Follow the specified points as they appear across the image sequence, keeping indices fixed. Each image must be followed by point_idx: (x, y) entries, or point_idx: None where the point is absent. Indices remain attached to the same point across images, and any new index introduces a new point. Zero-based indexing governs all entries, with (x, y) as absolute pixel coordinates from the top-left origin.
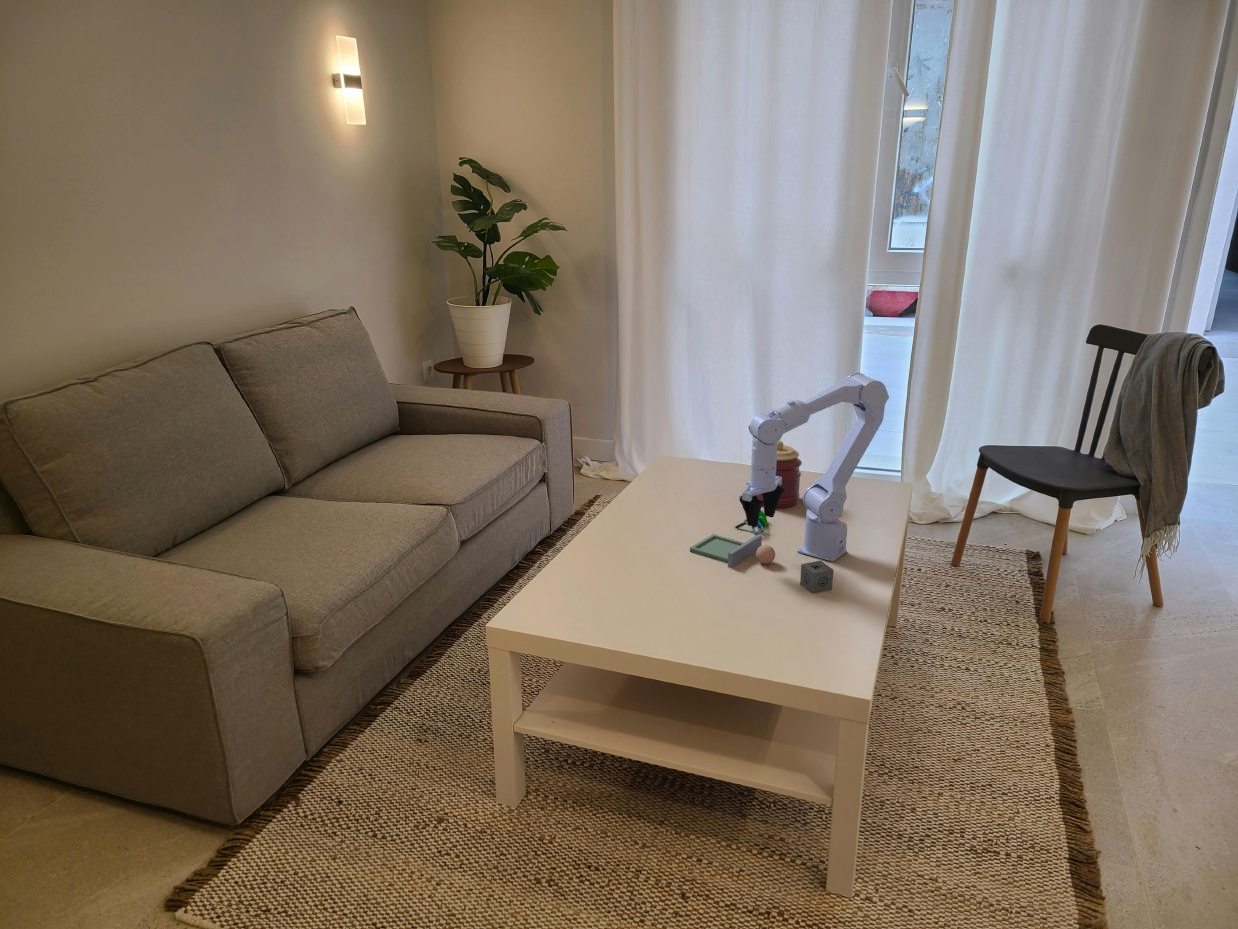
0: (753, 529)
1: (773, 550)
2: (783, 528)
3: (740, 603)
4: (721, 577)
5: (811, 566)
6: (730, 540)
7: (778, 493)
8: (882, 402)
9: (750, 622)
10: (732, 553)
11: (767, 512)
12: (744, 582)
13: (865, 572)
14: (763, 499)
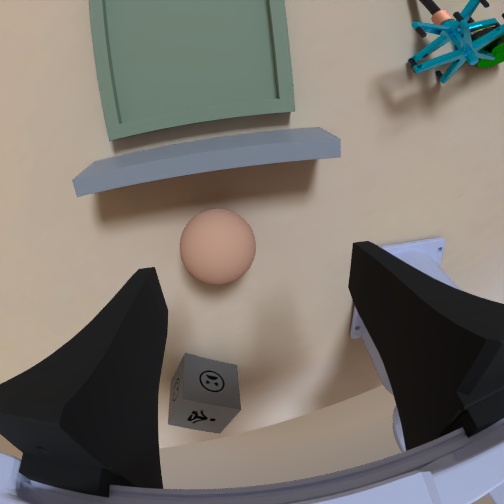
0: (421, 53)
1: (230, 282)
2: (487, 122)
3: (15, 317)
4: (34, 205)
5: (196, 409)
6: (272, 26)
7: (410, 442)
8: None
9: (7, 357)
10: (81, 195)
11: (362, 273)
12: (70, 267)
13: (338, 384)
14: (414, 295)
